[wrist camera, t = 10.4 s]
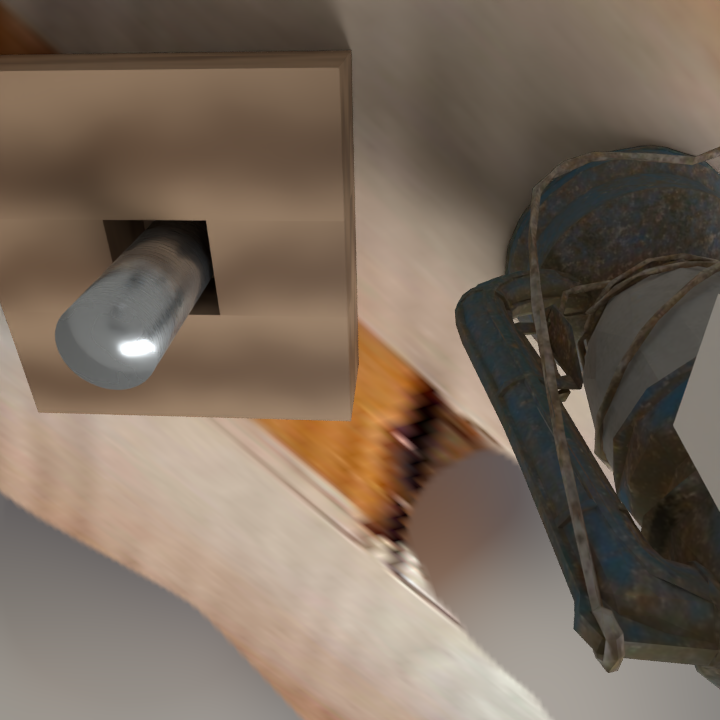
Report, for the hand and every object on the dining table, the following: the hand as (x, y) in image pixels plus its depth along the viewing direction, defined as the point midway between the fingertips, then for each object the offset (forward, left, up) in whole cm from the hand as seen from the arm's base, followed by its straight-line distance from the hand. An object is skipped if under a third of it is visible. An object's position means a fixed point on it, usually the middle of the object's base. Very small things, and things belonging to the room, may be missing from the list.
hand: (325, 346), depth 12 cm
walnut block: (+7, -11, -25) cm, 27 cm away
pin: (+7, -10, -23) cm, 26 cm away
